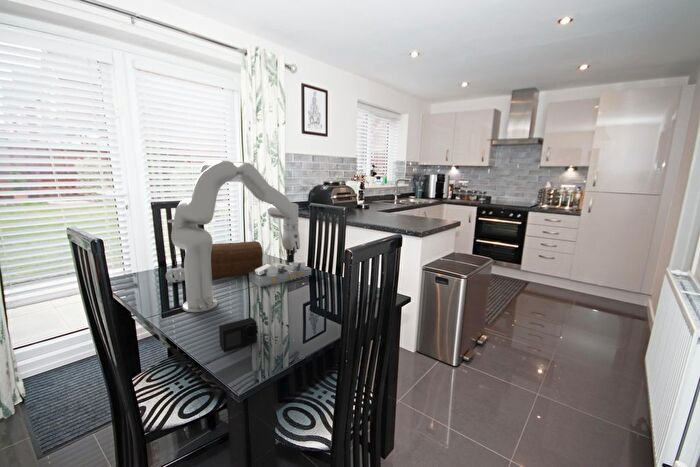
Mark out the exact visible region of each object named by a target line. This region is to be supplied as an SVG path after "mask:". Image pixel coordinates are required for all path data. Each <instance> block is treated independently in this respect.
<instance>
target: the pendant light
mask: <svg viewBox="0 0 700 467" xmlns="http://www.w3.org/2000/svg"><path fill="white" fill-rule="evenodd" d="M173 221H174V219H168V220H167V223H169V224H173ZM173 251H174V254H176V252H175V249H173ZM174 260H175V261H174V262H175V264H177V262H176V259H174ZM173 276H174V277H173ZM165 279H166V280H167V281H168V282H169V283H180V282H183V281H185V271H184V267H174V268H171V269H168V270H167V271H166V273H165Z"/></svg>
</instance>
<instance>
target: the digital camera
mask: <svg viewBox="0 0 700 467" xmlns="http://www.w3.org/2000/svg"><path fill="white" fill-rule="evenodd" d="M257 324H258V323H257V321H256V320H255V319H254V318H253V317H248V318H244V319H240V320H236V321H233V322H232V321H231V322H229V323H225V324H222V325H218V334H219V346H220V348H221V350H222V351H223V353H225V352H229V351H232V350H236V349H239V348H242V347H245V346H249V345H252V344H255V343H257V342H258V325H257Z"/></svg>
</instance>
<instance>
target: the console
mask: <svg viewBox="0 0 700 467" xmlns="http://www.w3.org/2000/svg"><path fill="white" fill-rule="evenodd" d="M288 266H290V267H289V270H287V269H280V268H276V267H272V269H271V270H269V271H267V273H264V274H262V275H258V274H256V272H250V273H249V274H248V281H250V282H251V283H252V284H254V285H256V286H257V287H258V288H263V287H267V286H271V285H276V284H280V283H285V282H288V281H289V280H290V281H294V280H297V279H296V278H299V279H301V278H300V277H303V278H306V277H305V276H308V277H310V276H309V275H311V276H312V268H311V267H309V266H306V265H305V266H292V265H290V264H289V265H288ZM293 279H294V280H293Z"/></svg>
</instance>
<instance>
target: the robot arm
mask: <svg viewBox="0 0 700 467" xmlns="http://www.w3.org/2000/svg"><path fill="white" fill-rule="evenodd" d="M200 173H201V174H199V176H198V178H197V179H196V181H195V183H194V187H193V190H192V195H191V197H190V198H186V199H183V200H181V201H180V202H179V203H178V205H177V206H176V209H175V212H174V218H173V220H174V221H173V223H172V226H171V234H170V237H171V238H170V239H171V242H172V244H173V246H174V247H176V248H179V249H181V250H185V256H184V258H183V259H184V260H183V268H184V271H185V280H184V282H185V283H184V284H185V297H186V301H185V302H184V303H183V304H182V310H183V311H185V312H187V313H202V312H207V311H211V310H212V309H215V308H216V307H217V306H218V300H217V299H216V298H214V293H213V292H214V291H213V278H212V269H211V251H212V244H214V243H213V237H212V235H211V234H210V232H208V231H207V230H206V229H204V228H201V227H198V225H202V226H203V225H208V224H210V223H211V221H212V220H213V218H214V214H215V209H216V204H217V199H218V198H217V197H218V195H219V194H218V193H219V190H220V189H221V187H223V185H225V184H226V183H227V182H235V183H236V182H237V183H242V184H243V186H244V187H245V188H246V189H248V191H249V192H250V194H252V196H253V197H254V198H256V199H257V200H259V201H261V202H265V204H266V203H267V204H269V206H268V207H267V214H268V215H269V216H270V217H271V218H274V219H277V220H283V222H282V223H283V224H282V228H283V232H282V247H283V249H284V250H285V251H286V253H285V254H286V262H287V263H288V264H289V263H290V262H294V261H295V253H296V254H297V253H298V250H300V249H301V248H300V247H301V240H300V238H301V237H300V233H299V204H298V203H295V202H292V201H290V199H289V198H288V197H287V196H286V195H284V193H282V192H281V191H279V190H277V189H276V188H275V187H273V186H272V185H270V184H269V182H268V181H267V180H266V178H264V176H263V175H262V174H261V173H260V171H259V170H258V169H257V168H256V166H254V164H252V163H250V162H243V161H241V162H239V161H238V162H237V161H236V162H234V161H233V162H232V161H231V160H230V161H229V160H206V161H205V162H203V164H202V165H201V167H200Z"/></svg>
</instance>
